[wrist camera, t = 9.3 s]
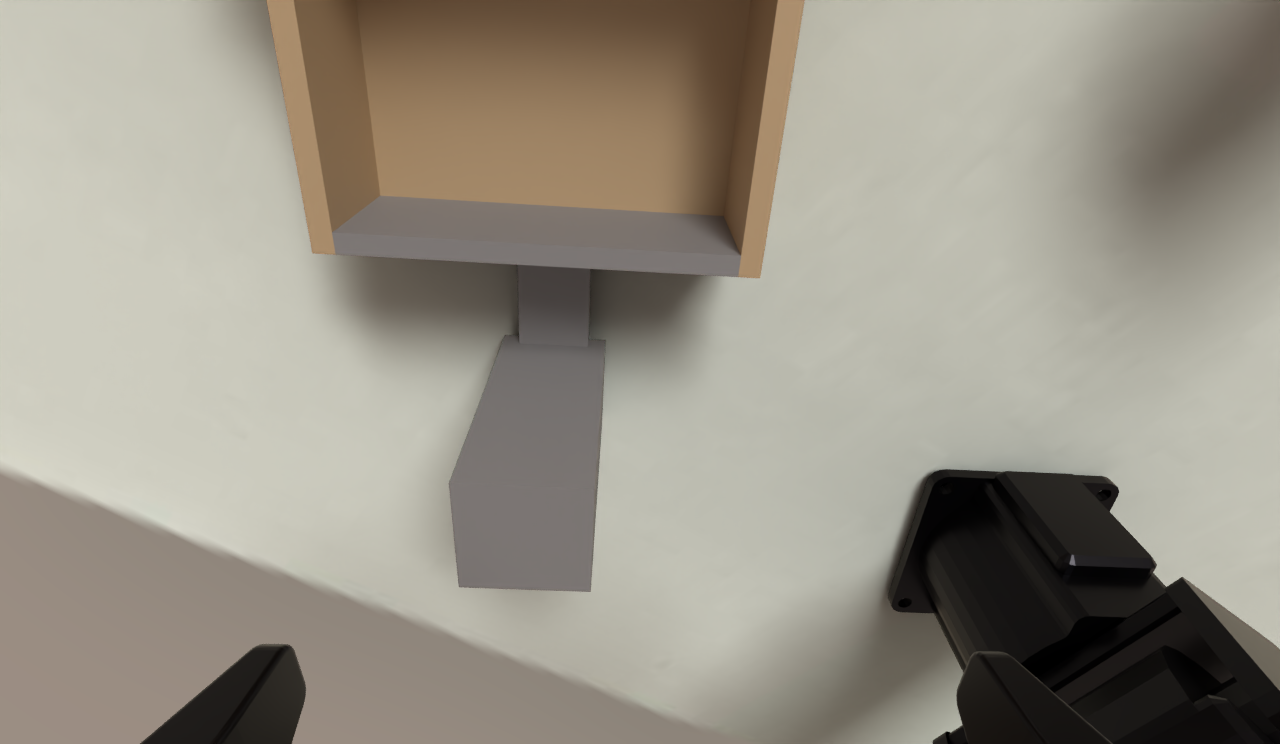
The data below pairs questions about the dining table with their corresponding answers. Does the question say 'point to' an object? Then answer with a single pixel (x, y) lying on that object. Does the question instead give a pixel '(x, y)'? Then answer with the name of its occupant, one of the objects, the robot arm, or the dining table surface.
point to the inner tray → (538, 200)
